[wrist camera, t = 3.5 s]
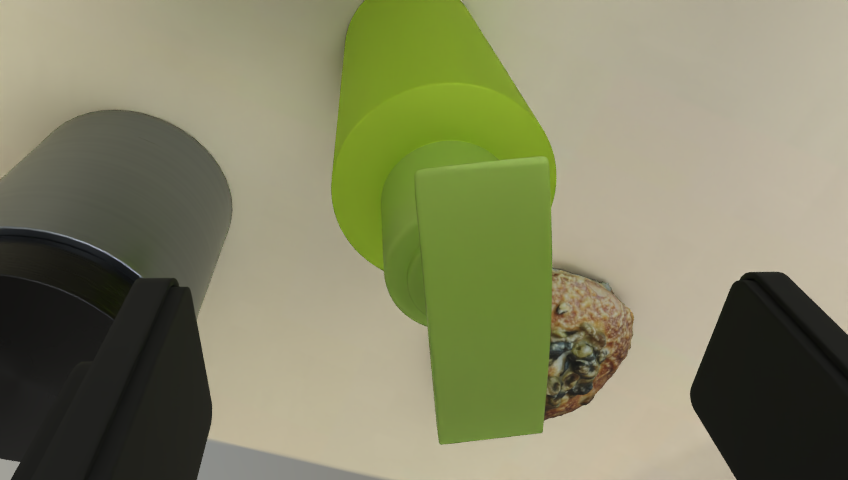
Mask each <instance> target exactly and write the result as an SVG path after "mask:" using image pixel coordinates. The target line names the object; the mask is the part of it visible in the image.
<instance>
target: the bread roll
mask: <svg viewBox="0 0 848 480" xmlns="http://www.w3.org/2000/svg"><path fill="white" fill-rule="evenodd" d="M613 294H614V293H613V292H612V289H611V287H610V286H609V284H608V283H604V282H601V283H598V281H596V280H591V279H588V278H585V277H582V276H580V275H576V274H575V275H573V274H572V273H569V272H565V271H561V270H556V269H554V268H552V311H551V335H550V352H549V366H548V379H547V391H546V402H545V413H544V420H546V419H548V418H554V417H557V416H562V415H563V414H566V413H569V412H572V411H574V410H576V409H577V408H579V407H581V406H583V405H587V404H588V403H590V401H591V400H592V399H593V398H594V396H595V394H596V393H597V392H598V391H599V390H600V389H601V388H602V387H603V385H604V384H605V383H606V382H607V380H608V379H609V378H611V377H612V375H613V374H614V373H615V371H616V370H617V368H618V367H619V365H620V364H621V362H622V360H624V359H625V358H626V356H627V353H628V350H629V349H630V348H631V339H632V336H633V331H632V329H633V327H632V326H633V320H634V316H633V313H632V312H631V311H630V309H629V308H627V307H625V305H624V304H623V303H622V302H621V301H619V300H618V298H617V297H616V296H614V295H613Z"/></svg>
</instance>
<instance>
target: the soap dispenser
mask: <svg viewBox="0 0 848 480" xmlns="http://www.w3.org/2000/svg"><path fill="white" fill-rule="evenodd" d="M555 189H556V164H555V159H554V154H553V151H552V148H551V145H550V142H549V140H548V138H547V136H546V134H545V132H544V130H543V129H542V127H541V126H540V124H539V122H538V121H537V119H536V118H535V116H534V114H533V113H532V111H531V110H530V108H529V107H528V105H527V103H526V102H525V100H524V99H523V97H522V95H521V94H520V92H519V91H518V89H517V87H516V86H515V84H514V83H513V81H512V80H511V78H510V76H509V75H508V73H507V72H506V70H505V68H504V67H503V65H502V64H501V62H500V61H499V59H498V57H497V56H496V54H495V53H494V51H493V49H492V48H491V46H490V45H489V43H488V41H487V40H486V38H485V37H484V35H483V34H482V32H481V30H480V29H479V27H478V26H477V24H476V22H475V21H474V19H473V18H472V16H471V15H470V13H469V11H468V10H467V8H466V7H465V6H464V4H463V3H462V2H461V1H460V0H365V1H364V2H363V3H362V4H361V5H360V7H359V8H358V9H357V11H356V12H355V14H354V16H353V18H352V20H351V22H350V24H349V27H348V30H347V34H346V40H345V49H344V60H343V70H342V80H341V90H340V100H339V110H338V121H337V131H336V141H335V151H334V161H333V171H332V183H331V194H332V203H333V208H334V212H335V215H336V218H337V221H338V223H339V226H340V228H341V230H342V232H343V233H344V235H345V237H346V238H347V240H348V241H349V242H350V244H351V245H352V246H353V247H354V248H355V250H356V251H357V252H358V253H359V254H360V255H362V256H363V257H364V258H365V259H366V260H367V261H369V262H370V263H372V264H373V265H375V266H376V267H378V268H380V269H381V270H383V271H384V277H385V282H386V286H387V289H388V292H389V294H390V296H391V298H392V300H393V301H394V303H395V304H396V306H397V307H398V308H399V309H400V310H401V311H402V312H403V313H404V314H405V315H407V316H408V317H409V318H411V319H412V320H414V321H416V322H418V323H420V324H422V325H424V326H427V327H428V337H429V348H430V359H431V369H432V380H433V391H434V401H435V412H436V422H437V430H438V438H439V443H440V444H441V445H442V444H452V443H460V442H469V441H477V440H486V439H494V438H503V437H511V436H520V435H528V434H536V433H542V432H543V423H544V413H545V402H546V391H547V379H548V366H549V352H550V335H551V311H552V230H551V206H552V203H553V199H554V195H555Z"/></svg>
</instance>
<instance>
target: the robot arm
mask: <svg viewBox="0 0 848 480" xmlns="http://www.w3.org/2000/svg"><path fill="white" fill-rule="evenodd" d="M690 398H691V403H692V406H693V408H694V410H695V412H696V413H697V415H698V417H699V418H700V420H701V422H702V423H703V425H704V427H705V428H706V430H707V432H708V433H709V435H710V436H711V438H712V440H713V441H714V443H715V445H716V446H717V448H718V450H719V451H720V453H721V455H722V456H723V458H724V460H725V461H726V463H727V464H728V466H729V468H730V469H731V471H732V473H733V474H734V476H735V478H736V479H737V480H848V335H847V334H846V333H845V332H844V331H843V330H842V329H841V328H840V327H839V326H838V325H837V324H836V323H835V322H834V321H833V320H832V319H831V318H830V317H829V316H828V315H827V314H826V313H825V312H824V311H823V310H822V309H821V308H820V307H819V306H818V305H817V304H816V303H815V302H814V301H813V300H812V299H810V298H809V297H808V296H807V295H806V294H805V293H804V292H803V291H802V290H801V289H800V288H799V287H798V286H797V285H796V284H795V283H794V282H793V281H792V280H791V279H790V278H789V277H788V276H787V275H785V274H784V273H781V272H749V273H745V274H744V275H743V276H742V277H741V279H740V280H739V281H736V282H735V283H733V285H732V287H731V289H730V291H729V294H728V296H727V299H726V301H725V304H724V306H723V309H722V311H721V314H720V316H719V319H718V321H717V324H716V326H715V329H714V331H713V334H712V336H711V339H710V341H709V344H708V346H707V349H706V351H705V354H704V356H703V359H702V361H701V364H700V366H699V369H698V371H697V374H696V376H695V379H694V381H693V384H692V387H691V390H690ZM211 420H212V402H211V396H210V391H209V385H208V380H207V375H206V369H205V364H204V358H203V353H202V348H201V342H200V337H199V331H198V326H197V321H196V315H195V310H194V304H193V299H192V294H191V290H190V288H189V287H179V283H178V281H177V279H175V278H138V279H136V281H135V282H134V283H133V285H132V287H131V289H130V291H129V293H128V295H127V297H126V299H125V301H124V302H123V304H122V306H121V308H120V310H119V312H118V314H117V316H116V318H115V320H114V322H113V324H112V325H111V327H110V329H109V331H108V333H107V335H106V337H105V339H104V341H103V343H102V345H101V346H100V348H99V350H98V352H97V354H96V356H95V358H94V360H93V361H90V362H80V363H79V364H77V365H76V366H75V367H74V368H73V370H72V371H71V372H70V374H69V376H68V377H67V379H66V381H65V383H64V385H63V386H62V388H61V390H60V392H59V394H58V395H57V397H56V399H55V401H54V403H53V404H52V406H51V408H50V410H49V412H48V414H47V415H46V417H45V419H44V421H43V423H42V424H41V426H40V428H39V430H38V432H37V433H36V435H35V437H34V439H33V441H32V442H31V444H30V446H29V448H28V450H27V451H26V453H25V455H24V457H23V459H22V460H21V462H20V464H19V466H18V468H17V470H16V471H15V473H14V475H13V477H12V479H11V480H197V476H198V472H199V468H200V464H201V461H202V457H203V453H204V449H205V445H206V441H207V437H208V433H209V430H210V425H211Z"/></svg>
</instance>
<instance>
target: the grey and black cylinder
mask: <svg viewBox="0 0 848 480" xmlns="http://www.w3.org/2000/svg"><path fill="white" fill-rule="evenodd" d="M231 217H232V199H231V195H230V190H229V187H228V184H227V181H226V178H225V177H224V175H223V173H222V171H221V169H220V167H219V166H218V164H217V163H216V161H215V160H214V158H213V157H212V156H211V155H210V154H209V153H208V152H207V150H206V149H205V148H204V147H203V146H202V145H201V144H199V143H198V142H197V141H196V140H195V139H194V138H192V137H191V136H190V135H188V134H187V133H185V132H184V131H182V130H181V129H179V128H177V127H175V126H174V125H172V124H170V123H168V122H165V121H163V120H161V119H158V118H155V117H152V116H149V115H146V114H142V113H137V112H132V111H121V110H105V111H97V112H91V113H87V114H84V115H81V116H77V117H75V118H73V119H71V120H69V121H67V122H65V123H64V124H62V125H61V126H59V127H58V128H57V129H55V130H54V131H53V132H52V133H51V134H50V135H49V136H48V137H47V138H46V139H45V140H43V141H42V142H41V143H40V144H39V145H38V146H37V147H36V148H35V149H34V150H32V151H31V152H30V153H29V154H28V155H27V156H26V157H25V158H24V159H23V160H22V161H20V162H19V163H18V164H17V165H16V166H15V167H14V168H13V169H12V170H11V171H9V172H8V173H7V174H6V175H5V176H4V177H3V178H2V179H1V180H0V458H1V459H6V460H12V461H18V462H21V460H22V459H23V457H24V455H25V453H26V451H27V450H28V448H29V446H30V444H31V442H32V441H33V439H34V437H35V435H36V433H37V432H38V430H39V428H40V426H41V424H42V423H43V421H44V419H45V417H46V415H47V414H48V412H49V410H50V408H51V406H52V404H53V403H54V401H55V399H56V397H57V395H58V394H59V392H60V390H61V388H62V386H63V385H64V383H65V381H66V379H67V377H68V376H69V374H70V372H71V371H72V370H73V368H74V367H75V366H76V365H77V364H79V363H80V362H90V361H93V360H94V358H95V356H96V354H97V352H98V350H99V348H100V346H101V345H102V343H103V341H104V339H105V337H106V335H107V333H108V331H109V329H110V327H111V325H112V324H113V322H114V320H115V318H116V316H117V314H118V312H119V310H120V308H121V306H122V304H123V302H124V301H125V299H126V297H127V295H128V293H129V291H130V289H131V287H132V285H133V283H134V282H135V281H136V279H138V278H175V279H177V281H178V283H179V287H189V288H190V290H191V294H192V299H193V304H194V310H195V315H196V320H197V317H198V314H199V311H200V308H201V306H202V303H203V300H204V297H205V294H206V292H207V289H208V286H209V283H210V280H211V278H212V275H213V272H214V269H215V266H216V263H217V261H218V258H219V255H220V252H221V249H222V247H223V244H224V241H225V238H226V235H227V233H228V230H229V226H230V222H231Z"/></svg>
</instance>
